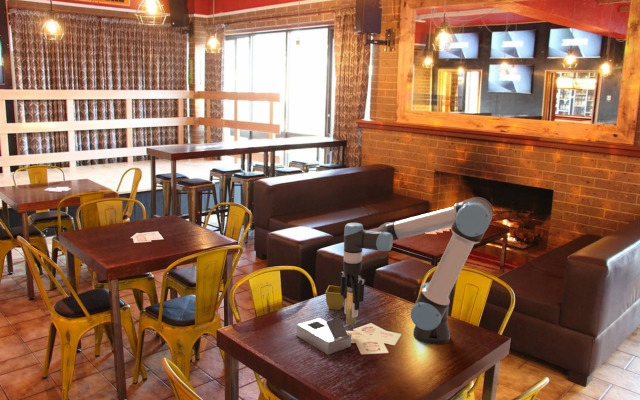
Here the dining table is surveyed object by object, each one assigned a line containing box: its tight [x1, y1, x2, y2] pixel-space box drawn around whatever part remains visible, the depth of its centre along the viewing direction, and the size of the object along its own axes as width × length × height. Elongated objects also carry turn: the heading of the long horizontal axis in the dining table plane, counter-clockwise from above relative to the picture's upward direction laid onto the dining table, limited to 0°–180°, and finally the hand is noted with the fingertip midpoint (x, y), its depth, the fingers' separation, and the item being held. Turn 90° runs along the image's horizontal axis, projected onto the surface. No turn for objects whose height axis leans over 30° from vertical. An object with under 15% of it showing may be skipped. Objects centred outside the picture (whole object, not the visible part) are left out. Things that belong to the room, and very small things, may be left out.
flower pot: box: [325, 285, 344, 311], centre depth 264 cm, size 9×9×9 cm
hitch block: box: [296, 317, 353, 355], centre depth 230 cm, size 20×12×5 cm, turn 40°
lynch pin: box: [345, 285, 357, 326], centre depth 235 cm, size 4×4×16 cm
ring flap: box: [326, 317, 349, 342], centre depth 222 cm, size 9×7×1 cm
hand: (351, 314), depth 236 cm, fingers closed on lynch pin, 4 cm apart
